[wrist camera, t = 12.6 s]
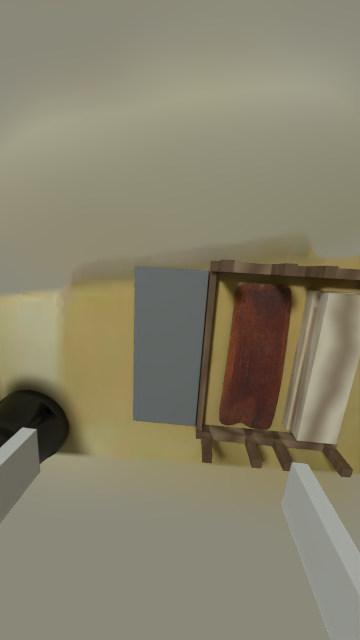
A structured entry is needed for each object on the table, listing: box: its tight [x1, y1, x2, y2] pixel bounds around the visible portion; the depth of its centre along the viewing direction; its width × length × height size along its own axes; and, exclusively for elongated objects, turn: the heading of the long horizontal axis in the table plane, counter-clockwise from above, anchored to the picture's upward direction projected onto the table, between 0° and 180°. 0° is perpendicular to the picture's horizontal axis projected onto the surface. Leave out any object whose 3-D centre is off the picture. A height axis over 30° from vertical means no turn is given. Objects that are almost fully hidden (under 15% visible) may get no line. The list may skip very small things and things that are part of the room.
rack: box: [196, 260, 360, 477], centre depth 34 cm, size 25×32×7 cm
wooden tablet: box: [219, 283, 291, 429], centre depth 37 cm, size 27×10×2 cm, turn 176°
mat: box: [133, 266, 209, 426], centre depth 38 cm, size 12×29×1 cm, turn 177°
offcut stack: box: [282, 290, 360, 444], centre depth 35 cm, size 6×25×5 cm, turn 177°
